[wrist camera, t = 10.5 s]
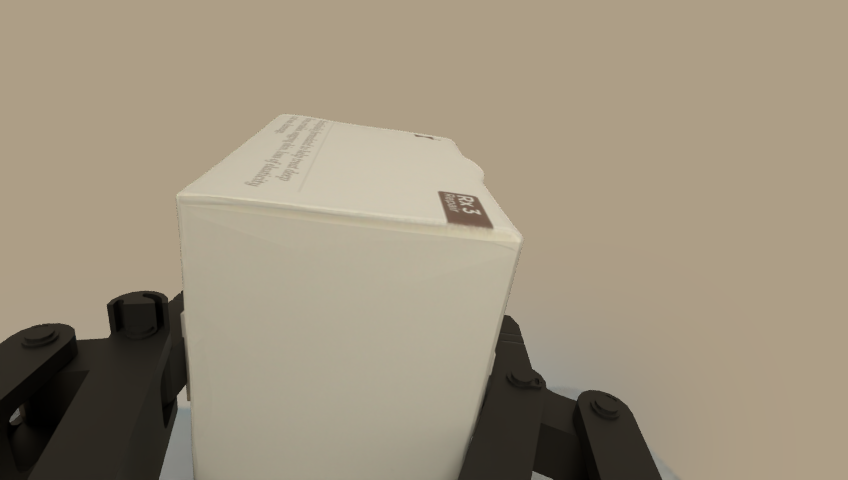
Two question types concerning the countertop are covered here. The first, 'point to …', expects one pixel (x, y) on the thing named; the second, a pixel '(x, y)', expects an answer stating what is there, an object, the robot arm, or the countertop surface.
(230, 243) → the skincare box
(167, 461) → the countertop surface
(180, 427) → the countertop surface
